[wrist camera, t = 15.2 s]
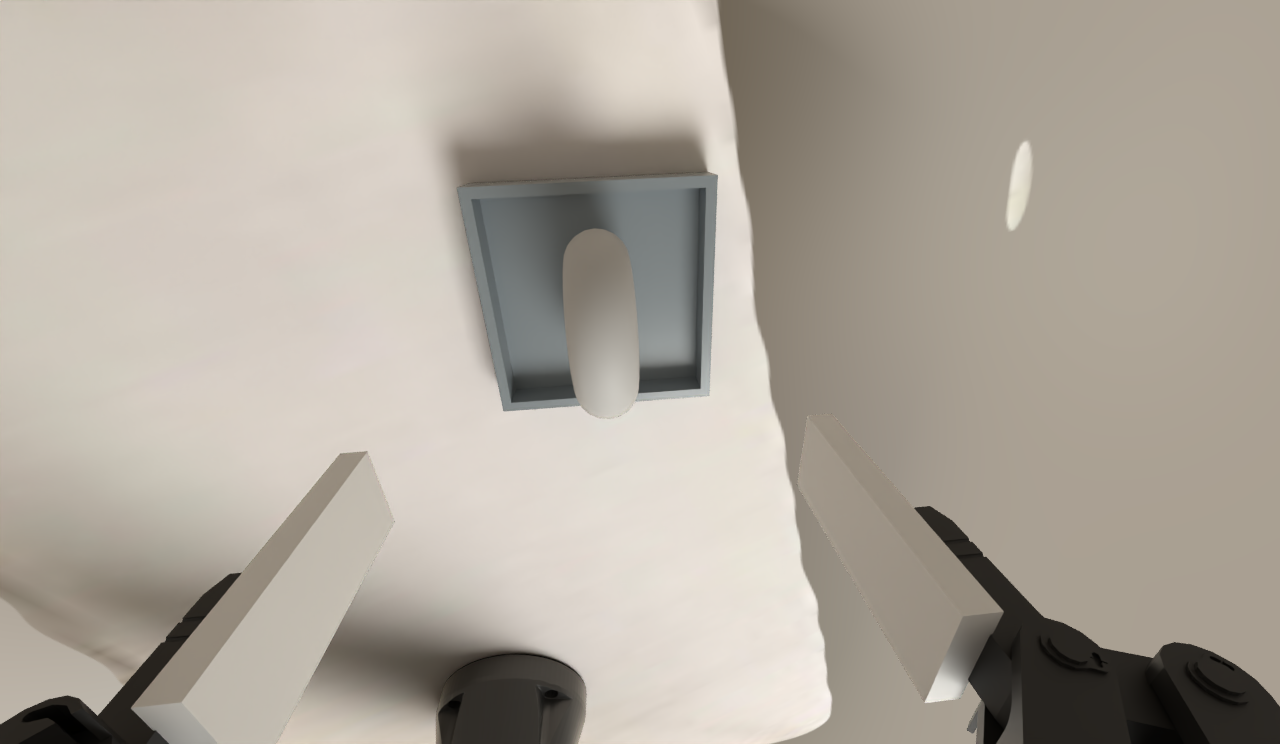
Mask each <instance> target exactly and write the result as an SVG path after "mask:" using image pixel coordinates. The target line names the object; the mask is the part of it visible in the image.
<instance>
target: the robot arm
mask: <svg viewBox="0 0 1280 744" xmlns="http://www.w3.org/2000/svg"><path fill="white" fill-rule="evenodd" d="M797 486H798V488H799V490H800V491H801V493H802V494H803V496H804V498H805V500H806V501H807V503H808V505H809V507H810V508H811V510H812V512H813V513H814V515H815V517H816V519H817V520H818V522H819V524H820V525H821V527H822V529H823V530H824V532H825V534H826V535H827V537H828V539H829V541H830V542H831V544H832V546H833V548H834V549H835V551H836V553H837V554H838V556H839V558H840V560H841V561H842V563H843V565H844V566H845V568H846V570H847V571H848V573H849V575H850V577H851V578H852V580H853V582H854V583H855V585H856V587H857V589H858V590H859V592H860V594H861V595H862V597H863V599H864V600H865V602H866V604H867V606H868V607H869V609H870V611H871V612H872V614H873V616H874V617H875V619H876V621H877V623H878V624H879V626H880V628H881V630H882V631H883V633H884V635H885V636H886V638H887V640H888V641H889V643H890V645H891V646H892V648H893V650H894V652H895V653H896V655H897V657H898V659H899V660H900V662H901V664H902V665H903V667H904V669H905V670H906V672H907V674H908V676H909V677H910V679H911V681H912V682H913V684H914V686H915V687H916V689H917V691H918V692H919V694H920V696H921V698H922V700H923V701H924V703H929V702H936V701H945V700H954V699H960V698H961V696H962V694H963V692H964V690H965V688H966V686H967V684H968V682H970V683H971V685H972V686H973V688H974V689H975V691H976V692H977V694H978V695H979V697H980V698H981V699H982V700H981V702H980V704H979V705H978V708H977V709H976V711H975V713H974V715H973V716H972V718H971V720H970V722H969V725H968V728H967V731H969V732H971V733H974V731H975V730H976V728H977V738H976V744H1280V706H1279V705H1278V704H1277V703H1276V701H1275V700H1274V699H1273V697H1272V696H1271V695H1270V694H1269V693H1268V692H1267V691H1266V690H1265V689H1264V688H1263V687H1262V686H1261V685H1260V684H1259V682H1258V681H1257V680H1255V679H1254V678H1253V677H1252V676H1250V675H1249V674H1247V673H1246V672H1245V671H1243V670H1242V669H1241V668H1239V667H1238V666H1236V665H1235V664H1233V663H1232V662H1230V661H1228V660H1226V659H1224V658H1222V657H1221V656H1219V655H1217V654H1215V653H1213V652H1211V651H1208V650H1205V649H1202V648H1200V647H1197V646H1194V645H1191V644H1183V643H1176V642H1174V643H1171V644H1167V645H1164V646H1163V647H1162V648H1161V649H1160V650H1159V652H1158V653H1157V654H1156V655H1155V657H1154V658H1150V657H1145V656H1140V655H1134V654H1129V653H1124V652H1118V651H1114V650H1109V649H1103V648H1100V647H1099V646H1098V645H1097V644H1096V643H1094V642H1093V641H1092V640H1090V639H1089V638H1088V637H1086V636H1085V635H1084V634H1083V633H1081V632H1080V631H1077V630H1076V629H1073V628H1072V627H1070V626H1068V625H1066V624H1064V623H1061V622H1058V621H1054V620H1051V619H1047V618H1044V617H1043V616H1042V615H1041V614H1040V613H1039V612H1038V611H1037V610H1036V609H1035V608H1034V607H1033V606H1032V605H1031V604H1030V603H1029V602H1028V601H1027V600H1026V599H1025V598H1024V596H1022V595H1021V593H1020V592H1019V591H1018V590H1017V589H1016V588H1015V587H1014V586H1013V585H1012V584H1011V583H1010V582H1009V581H1008V579H1007V578H1006V577H1005V576H1004V575H1003V574H1002V573H1001V572H1000V571H999V570H998V569H997V568H996V567H995V566H994V565H993V564H992V562H991V561H990V560H989V559H988V558H987V557H983V553H982V552H981V551H980V550H979V549H978V548H977V546H976V545H975V544H974V543H973V542H970V541H969V538H968V537H967V536H966V535H965V534H964V533H963V532H962V531H961V530H960V528H959V527H958V526H957V525H956V524H955V523H954V522H953V521H952V520H950V519H949V518H947V517H946V516H944V515H943V514H941V513H940V512H938V511H937V510H935V509H934V508H932V507H930V506H927V507H917V508H913V507H912V505H911V504H910V503H909V502H908V501H907V500H906V498H905V497H904V496H903V495H902V494H901V493H900V492H899V490H898V489H897V488H896V487H895V486H894V485H893V484H892V482H891V481H890V480H889V479H888V478H887V477H886V476H885V474H884V473H883V472H882V471H881V470H880V469H879V467H878V466H877V465H876V464H875V463H874V462H873V460H872V459H871V458H870V457H869V456H868V455H867V454H866V452H865V451H864V450H863V449H862V448H861V447H860V446H859V444H858V443H857V442H856V441H855V440H854V439H853V437H852V436H851V435H850V434H849V433H848V432H847V431H846V429H845V428H844V427H843V426H842V425H841V424H840V423H839V421H838V420H837V419H836V418H835V417H834V416H833V414H821V415H809V416H808V417H807V423H806V430H805V436H804V443H803V450H802V456H801V462H800V469H799V475H798V482H797ZM394 522H395V521H394V519H393V516H392V514H391V511H390V508H389V506H388V503H387V501H386V498H385V495H384V493H383V490H382V488H381V485H380V482H379V480H378V477H377V475H376V472H375V469H374V467H373V464H372V462H371V459H370V456H369V454H368V451H366V452H354V453H342V454H340V455H339V456H338V457H337V458H336V459H335V461H334V462H333V463H332V464H331V465H330V467H329V468H328V469H327V470H326V472H325V473H324V474H323V475H322V476H321V478H320V479H319V480H318V481H317V482H316V484H315V485H314V486H313V487H312V489H311V490H310V491H309V492H308V493H307V495H306V496H305V497H304V498H303V499H302V501H301V502H300V503H299V504H298V506H297V507H296V508H295V509H294V510H293V512H292V513H291V514H290V515H289V516H288V518H287V519H286V520H285V521H284V523H283V524H282V525H281V526H280V527H279V529H278V530H277V531H276V532H275V533H274V535H273V536H272V537H271V538H270V539H269V541H268V542H267V543H266V544H265V546H264V547H263V548H262V549H261V550H260V552H259V553H258V554H257V555H256V556H255V558H254V559H253V560H252V561H251V563H250V564H249V565H248V566H247V567H246V569H245V570H244V571H243V572H242V573H235V574H229V575H228V576H227V577H225V578H224V579H223V580H222V581H220V582H219V583H218V584H216V585H215V586H214V587H213V588H211V589H210V590H209V591H207V592H206V593H205V594H204V595H203V596H202V597H201V598H200V599H199V600H198V601H197V602H196V604H195V605H194V606H193V607H192V608H191V609H190V610H189V612H188V613H187V614H186V615H185V616H184V617H183V621H182V622H181V623H178V624H177V625H176V627H175V628H174V629H173V630H172V631H171V632H170V633H169V635H168V636H167V637H166V641H165V642H164V643H161V644H160V645H159V646H158V647H157V648H156V650H155V651H154V652H153V653H152V654H151V655H150V656H149V658H148V659H147V660H146V661H145V662H144V663H143V664H142V666H141V667H140V668H139V669H138V670H137V671H136V673H135V674H134V675H133V676H132V677H131V678H130V679H129V681H128V682H127V683H126V684H125V685H124V686H123V687H122V689H121V690H120V691H119V692H118V693H117V694H116V696H115V697H114V698H113V699H112V700H111V701H110V702H109V704H108V705H107V706H106V707H105V708H104V709H103V710H102V712H101V713H100V714H99V715H98V716H97V715H96V714H95V713H94V712H93V711H92V710H91V709H90V708H89V707H88V706H86V704H84V703H83V702H82V701H81V700H80V699H79V698H75V697H71V696H63V697H58V698H53V699H48V700H46V701H44V702H41V703H39V704H37V705H34V706H32V707H30V708H27V709H25V710H23V711H22V712H20V713H18V714H17V715H15V716H14V717H12V718H10V719H9V720H7V721H5V722H4V723H2V724H0V744H276V743H277V742H278V740H279V738H280V736H281V734H282V732H283V730H284V728H285V726H286V725H287V723H288V721H289V719H290V717H291V715H292V713H293V711H294V710H295V708H296V706H297V704H298V702H299V700H300V698H301V696H302V695H303V693H304V691H305V689H306V687H307V685H308V683H309V681H310V680H311V678H312V676H313V674H314V672H315V670H316V668H317V666H318V665H319V663H320V661H321V659H322V657H323V655H324V653H325V651H326V650H327V648H328V646H329V644H330V642H331V640H332V638H333V636H334V634H335V633H336V631H337V629H338V627H339V625H340V623H341V621H342V619H343V618H344V616H345V614H346V612H347V610H348V608H349V606H350V604H351V603H352V601H353V599H354V597H355V595H356V593H357V591H358V589H359V588H360V586H361V584H362V582H363V580H364V578H365V576H366V574H367V573H368V571H369V569H370V567H371V565H372V563H373V561H374V559H375V557H376V556H377V554H378V552H379V550H380V548H381V546H382V544H383V542H384V541H385V539H386V537H387V535H388V533H389V531H390V529H391V527H392V526H393V524H394ZM585 716H586V687H585V685H584V682H583V681H582V679H581V678H580V677H579V675H578V674H576V673H575V672H574V671H573V670H572V669H570V668H568V667H567V666H565V665H563V664H561V663H559V662H556V661H553V660H550V659H547V658H542V657H537V656H530V655H503V656H496V657H490V658H486V659H482V660H479V661H476V662H473V663H471V664H469V665H467V666H465V667H463V668H461V669H460V670H458V671H457V672H455V673H454V674H453V675H452V676H451V677H450V678H449V679H448V680H447V682H446V683H445V685H444V687H443V690H442V694H441V698H440V701H439V705H438V708H437V713H436V744H578V742H579V738H580V735H581V732H582V728H583V725H584V722H585Z"/></svg>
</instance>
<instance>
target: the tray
mask: <svg viewBox="0 0 1280 744" xmlns="http://www.w3.org/2000/svg"><path fill="white" fill-rule="evenodd" d="M717 179H718V175H716V174H713V173H710V172H698V173H677V174H656V175H635V176H614V177H594V178H573V179H552V180H531V181H510V182H489V183H469V184H466V185H463V186H460V187H457V191H458V196H459V201H460V206H461V210H462V215H463V220H464V225H465V229H466V234H467V239H468V244H469V249H470V253H471V258H472V263H473V268H474V272H475V277H476V282H477V287H478V291H479V296H480V301H481V306H482V311H483V315H484V320H485V325H486V330H487V334H488V339H489V344H490V349H491V354H492V358H493V363H494V368H495V373H496V377H497V382H498V387H499V392H500V396H501V401H502V406H503V411H515V410H529V409H542V408H555V407H569V406H581V405H580V403H579V402H578V400H577V398H576V395H575V392H574V387H573V382H572V377H571V372H570V365H569V358H568V350H567V340H566V331H565V318H564V304H563V258H564V253H565V250H566V248H567V245H568V244H569V242H570V241H571V240H572V239H573V238H574V237H575V236H576V235H578V234H579V233H581V232H583V231H584V230H589V229H593V228H596V229H604V230H607V231H609V232H611V233H613V234H615V235H616V236H617V237H618V238H619V239H620V240H621V241H623V243H624V245H625V247H626V248H627V250H628V254H629V258H630V263H631V268H632V274H633V281H634V289H635V299H636V310H637V323H638V339H639V365H640V370H639V390H638V395H637V398H636V400H635V401H649V400H662V399H675V398H689V397H702V396H709V392H710V366H711V339H712V312H713V286H714V259H715V232H716V206H717Z"/></svg>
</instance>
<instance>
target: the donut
mask: <svg viewBox="0 0 1280 744" xmlns="http://www.w3.org/2000/svg"><path fill="white" fill-rule="evenodd" d="M563 304H564V318H565V331H566V340H567V350H568V358H569V365H570V372H571V377H572V382H573V387H574V392H575V395H576V398H577V400H578V402H579V403H580V405H581V407H582V408H583V409H584V410H585V411H586V412H588V413H589V414H590V415H592V416H595V417H597V418H602V419H611V418H615V417H619V416H621V415H622V414H624V413H626V412H627V411H628V410H629V409H630V408H631V407H632V406H633V404H634V403H635V400H636V398H637V395H638V390H639V370H640V365H639V339H638V323H637V310H636V299H635V289H634V281H633V274H632V268H631V263H630V258H629V254H628V250H627V248H626V247H625V245H624V243H623V241H621V240H620V239H619V238H618V237H617V236H616V235H615V234H613V233H611V232H609V231H607V230H604V229H596V228H593V229H589V230H584V231H583V232H581V233H579V234H578V235H576V236H575V237H574V238H573V239H572V240H571V241H570V242H569V244H568V245H567V248H566V250H565V253H564V258H563Z"/></svg>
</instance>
